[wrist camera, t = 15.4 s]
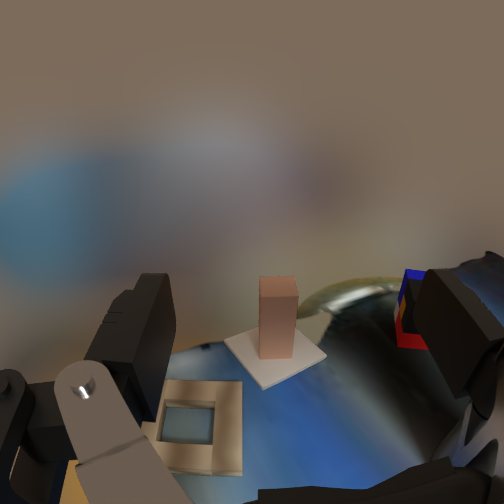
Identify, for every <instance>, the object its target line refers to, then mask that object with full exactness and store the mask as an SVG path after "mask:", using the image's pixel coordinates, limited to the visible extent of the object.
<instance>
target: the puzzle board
mask: <svg viewBox="0 0 504 504" xmlns="http://www.w3.org/2000/svg"><path fill="white" fill-rule="evenodd" d="M167 407H180V408H200V409H215V415H214V430H213V445H199V444H183V443H171V442H160V441H161V435H162V430H163V424H164V419H165V414H166V408H167ZM141 431H142V432H143V434H144V435H145V436H146V437H147V438H148V440H149V441H150V443H151V444H152V446H153V447H154V449H155V450H156V452H157V453H158V455H159V456H160V458H161V459H162V461H163V462H164V464H165V465H166V467H167V468H168V470H169V471H170V472H171V473H179V474H191V475H207V476H243V448H242V381H189V380H169V379H165V381H164V385H163V390H162V394H161V399H160V404H159V408H158V413H157V418H156V423H152V422H142V426H141Z"/></svg>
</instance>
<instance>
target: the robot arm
mask: <svg viewBox="0 0 504 504" xmlns="http://www.w3.org/2000/svg"><path fill="white" fill-rule="evenodd" d="M413 320H414V324H415V327H416V329H417V330H418V332H419V334H420V335H421V337H422V339H423V341H424V342H425V344H426V346H427V348H428V349H429V351H430V353H431V355H432V356H433V358H434V360H435V362H436V364H437V366H438V367H439V369H440V371H441V373H442V375H443V377H444V379H445V380H446V382H447V384H448V386H449V388H450V390H451V392H452V394H453V396H454V398H455V399H458V398H462V397H465V396H470V397H471V400H470V401H469V403H468V404H467V407H466V411H465V413H464V415H463V416H462V417H461V419H460V420H459V421H458V423H457V424H456V425H455V426H454V428H453V429H452V430H451V431H450V433H449V434H448V435H447V436H446V437H445V439H444V440H443V441H442V442H441V444H440V445H439V446H438V447H437V448H436V450H435V452H434V454H433V457H432V461H431V462H427V463H424V464H421V465H417V466H414V467H410V468H408V469H406V470H405V471H403V472H401V473H399V474H397V475H395V476H393V477H391V478H389V479H387V480H385V481H383V482H381V483H379V484H377V485H375V486H373V487H371V488H368V489H361V490H360V489H341V488H328V487H317V486H306V487H294V488H280V489H258V500H255V501H251V502H247V503H243V504H504V327H503V326H502V325H501V324H500V322H499V321H498V320H497V319H496V317H495V316H494V315H493V314H492V313H491V311H490V310H488V308H487V307H486V305H485V304H484V303H483V302H481V300H480V298H479V297H478V296H477V295H476V294H475V293H474V292H473V290H471V289H470V288H468V287H467V286H465V285H464V284H463V283H462V282H461V281H460V280H459V279H458V277H457V276H456V275H455V274H454V273H453V272H452V271H451V270H450V269H447V268H446V269H429V270H427V271H426V272H425V274H424V277H423V281H422V284H421V287H420V291H419V294H418V297H417V300H416V304H415V307H414V311H413ZM175 332H176V316H175V310H174V304H173V299H172V293H171V287H170V280H169V276H168V274H167V273H142V274H141V276H140V278H139V280H138V282H137V284H136V286H135V288H134V290H125V291H123V292H122V293H121V294H120V295H119V296H118V297H116V298H115V299H114V300H113V302H112V304H111V306H110V308H109V310H108V314H106V315H105V317H104V319H103V321H102V324H101V325H100V327H99V329H98V331H97V333H96V335H95V338H94V339H93V341H92V343H91V345H90V347H89V349H88V352H87V353H86V356H85V358H84V360H83V361H78V362H75V363H73V364H71V365H69V366H67V367H66V368H64V369H63V370H62V371H61V372H60V373H59V375H58V376H57V378H56V380H55V381H52V382H44V383H34V384H27V382H26V381H25V379H24V377H23V376H22V375H21V373H19V372H18V371H16V370H13V369H5V370H1V371H0V504H59V502H60V497H61V492H62V488H63V483H64V479H65V475H66V470H67V466H68V462H69V460H78V462H79V464H77V465H76V466H75V470H76V473H77V477H78V479H79V482H80V484H81V486H82V488H83V490H84V493H85V495H86V497H87V499H88V501H89V503H90V504H194V503H193V502H192V501H191V500H190V498H189V497H188V496H187V494H186V493H185V492H184V490H183V489H182V488H181V486H180V485H179V484H178V482H177V481H176V479H175V478H174V477H173V475H172V474H171V472H170V471H169V470H168V468H167V467H166V465H165V464H164V462H163V461H162V459H161V458H160V456H159V455H158V453H157V452H156V450H155V449H154V447H153V446H152V444H151V443H150V441H149V440H148V438H147V437H146V436H145V435H144V434H143V432H142V431H141V426H142V422H152V423H156V418H157V413H158V408H159V404H160V399H161V394H162V390H163V385H164V381H165V376H166V372H167V367H168V363H169V359H170V355H171V350H172V346H173V342H174V338H175ZM19 446H20V450H19V453H18V456H17V459H16V462H15V465H14V468H13V471H12V475H11V478H10V481H9V476H10V472H11V468H12V465H13V462H14V459H15V456H16V453H17V450H18V447H19Z"/></svg>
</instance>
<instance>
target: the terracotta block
mask: <svg viewBox="0 0 504 504" xmlns="http://www.w3.org/2000/svg"><path fill="white" fill-rule="evenodd" d="M259 283H260V285H259V355H260V359H290V358H292V354H293V345H294V336H295V327H296V317H297V307H298V297H299V296H298V292H297V287H296V283H295V279H294V276H285V277H284V276H282V277H280V276H278V277H260V280H259Z"/></svg>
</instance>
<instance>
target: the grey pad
mask: <svg viewBox="0 0 504 504" xmlns="http://www.w3.org/2000/svg"><path fill="white" fill-rule="evenodd" d="M224 343H225V344H226V346H227V347H228V348H229V349H230V351H231V352H232V353H233V354H234V356H235V357H236V358H237V359H238V361H239V362H240V363H241V364H242V366H243V367H244V368H245V369H246V371H247V372H248V373H249V374H250V376H251V377H252V378H253V379H254V380H255V382H256V383H257V384H258V385H259V386H260V388H261V389H262V390H265V389H267V388H269V387H271V386H273V385H275V384H277V383H279V382H281V381H283V380H285V379H287V378H289V377H291V376H293V375H295V374H297V373H299V372H301V371H303V370H305V369H307V368H308V367H310V366H312V365H314V364H316V363H318V362H320V361H321V360H323V359H325V358H326V357H327V355H326V354H325V353H324V352H323V351H321V350H320V349H319V348H318V347H317V346H316V345H315V344H313V343H312V342H311V341H310V340H309V339H308V338H307V337H306V336H305V335H303V334H302V333H301V332H300V331H299V330H298V329H297V328H296V327H295V336H294V345H293V354H292V358H290V359H260V355H259V326H258V327H255V328H253V329H250V330H247V331H245V332H242V333H240V334H237V335H235V336H232V337H229V338H227V339H224Z"/></svg>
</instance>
